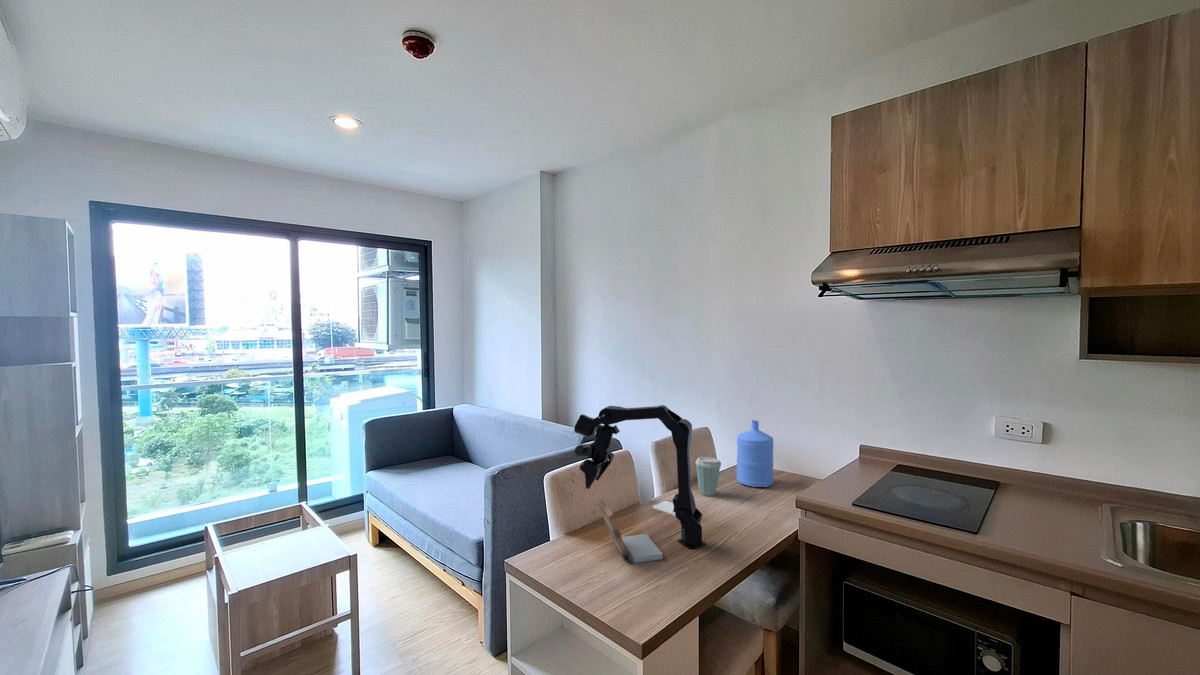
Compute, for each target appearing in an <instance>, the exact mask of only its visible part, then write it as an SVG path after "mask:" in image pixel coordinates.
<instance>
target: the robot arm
mask: <svg viewBox="0 0 1200 675" xmlns="http://www.w3.org/2000/svg"><path fill="white" fill-rule="evenodd" d="M653 419H658V420H659V421H661V423H662V424H663V425H664V426H665V427H666V429H667V430H668V431H670V432H671V437H672V441H673V444H674V447H675V450H676V467H677V468H676V469H677V471H676V472H677V488H678V489H677V493H675V495H674V497H673V498H672V503H673V505H674V510H673V512H675V516H674V517H675V518H676V519H677V520H678V521H679V522H680V525H681V526H680V527H681V529H680V530H681V531H680V532H681V533H680V534H681V536H680V537H681V538H680V539H678V540H677V542H678V543H680V544H681V545H682V546H685V547H686V548H688V549H689V550H693V549H696V548H697V549H698V548H700V547H703V546H705V545H706V544H707V543H706V542H704V541H703V526H702V524H701V521H702V518H703V513H702V512H701V511H700V510H699V509H698V508H697V506H696V502H695V497H694V494H693V492H692V486H691V485H692V484H691V482H692V481H691V464H690V461H691V460H690V458H691V457H690V444H691V440H692V434H693V433H692V432H693V425H692V423H691V422H690V421H689V419H686V418H683V417H681V416H680V415H679V414H677V413H675V412H674V411H672V410H671V409H669V408H668V407H667V406H666V405H665V404H661V405H655V406H641V407H640V406H639V407H623V406H618V405H617V406H616V405H608V406H606V407H604V408H602V409H601V410H600V411H599V412H598V416H597V417H595V418H593V417H591V416H588V415H586V414H583V413H582V414H580V415H579V418H577V421H576V423H575V425H574V429H573V430H574V433H576V434H579V435H581V436H584V437H586V438H589V439H590V438H592V436H593V437H594V440H593V442H592V443H587V444H586V443H582V444H579V445H577V446H575V448H574V449H575V450H574V451H573V452H574V453H575V454H576V457H583V456H585V457H586V458H587V459H585V460H584V461H582V462H580V464H579V470H580V471H581V472H583V474H584V479H585V489H587V490H589V489H590V488H591V487H592V485H593V484H594V482H595V481H599V480H600V479H601V477H602V475H603V474H604V473H605V471H606V470H608V468H609V466H610V465H611V464H612V462H613V461H614V457H615V454H614V453H613V452H611V451H610V450H611V448H612V445H611V443H612V439H613V435H617V434H619V433H620V432H621V430H620V429H619V428H618V426H617V425H614V424H617V423H622V422H625V421H634V420H635V421H636V420H653ZM612 425H614V426H612Z"/></svg>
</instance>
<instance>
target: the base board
mask: <svg viewBox="0 0 1200 675" xmlns="http://www.w3.org/2000/svg"><path fill="white" fill-rule="evenodd" d="M621 537H622V540H623V543H624V545H625V548H626V551H627V553H628V556H629V557H627V558H626V559H627V560H628V562H629V563H630V564H636V563H644V562H651V561H658V560H663V559H664V558H663V556H664V554H663V552H662V551H661V550H660V548H659V547H658V546H657V545H656V544H655V542H654V541H653V540H652V539H651V537H649V535H648V534H647V533H643V534H635V535H627V536H621Z"/></svg>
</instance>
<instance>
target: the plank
mask: <svg viewBox="0 0 1200 675" xmlns="http://www.w3.org/2000/svg"><path fill="white" fill-rule="evenodd" d="M597 503H598V506H599V509H600V512H601V515H602V516H603V519H604V522H605V524H606V527H607V530H608V532H609V533H608V534H609V536H610V539H611V541H612V543H613V544H614V546H615V548H616V549H617V551H618V553H619V554H620V556H621V557H622V559H623V560H625V559H627V557H629V556H628V553H627V551H626V548H625V545H624V543H623V540H622V537H623V536H622V534H621V532H620V530H619V527H618V524H617V521H616V519H615V516H614V513H613V512H612V511H611V510H610V508H609V507H608V506H607V504H606V503H605V501H604V500H603V499H602V500H600V501H597Z"/></svg>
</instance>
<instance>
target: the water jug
mask: <svg viewBox="0 0 1200 675" xmlns="http://www.w3.org/2000/svg"><path fill="white" fill-rule="evenodd" d="M750 422H751V427H750V428H751V429H749V430H747V431H744V432H741V433H739V434H738V435H737V438H736V445H737V449H736V450H737V451H736V454H737V456H736V481H737V483H739V482H740V483H741V484H740V483H739V484H740V485H742V484H744V485H747V486H746V487H748V486H754V487H765V486H770V485H772V484H774V438H773V436H771V435H770V434H767V433H765V432H763V431H762V430H760V428H759V427H760V424H759V422H760V421H759V420H758V419H757V420H755V419H754V420H753V419H752V420H751V421H750ZM744 485H743V486H744ZM772 486H773V485H772ZM770 487H771V486H770Z"/></svg>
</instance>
